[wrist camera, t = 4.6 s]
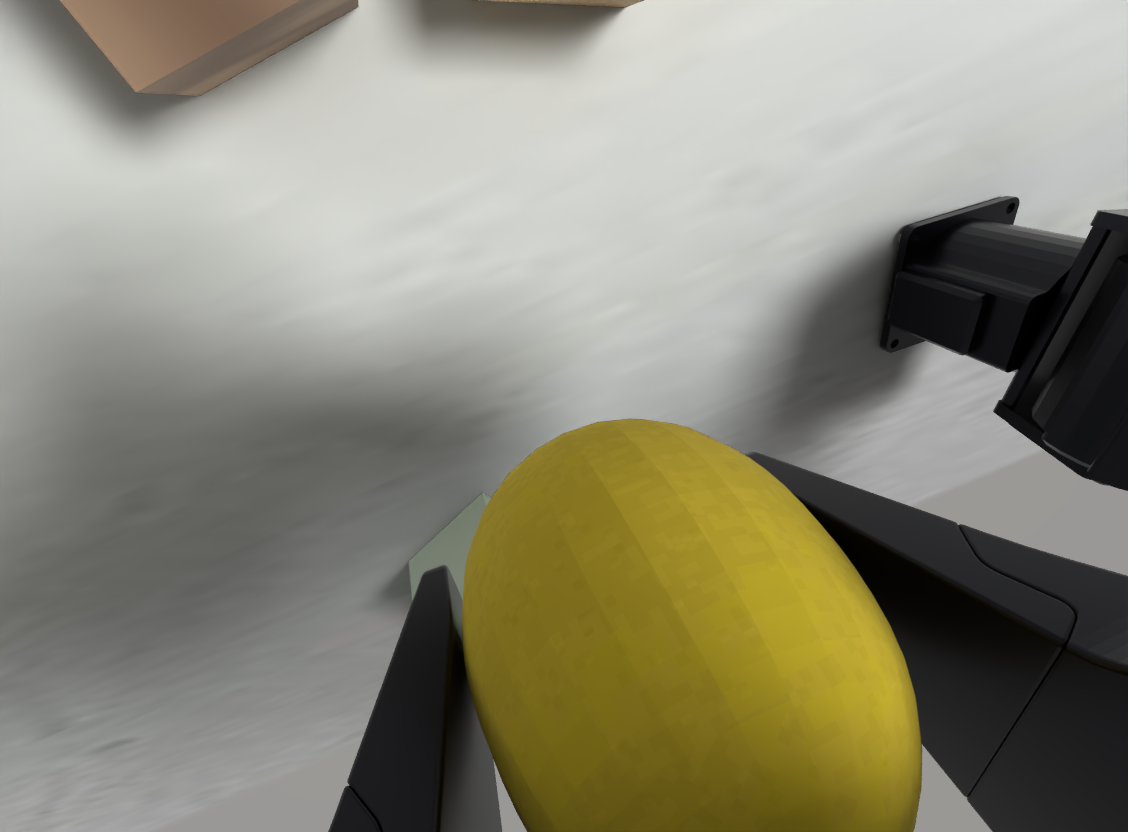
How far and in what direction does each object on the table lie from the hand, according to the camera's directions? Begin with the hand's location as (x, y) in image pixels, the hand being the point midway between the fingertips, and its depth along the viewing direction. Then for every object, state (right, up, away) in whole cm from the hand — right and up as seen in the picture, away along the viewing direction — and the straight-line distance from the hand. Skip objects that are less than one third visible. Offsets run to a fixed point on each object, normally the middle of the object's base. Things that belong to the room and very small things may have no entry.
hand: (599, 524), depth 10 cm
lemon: (-1, +1, +2) cm, 2 cm away
